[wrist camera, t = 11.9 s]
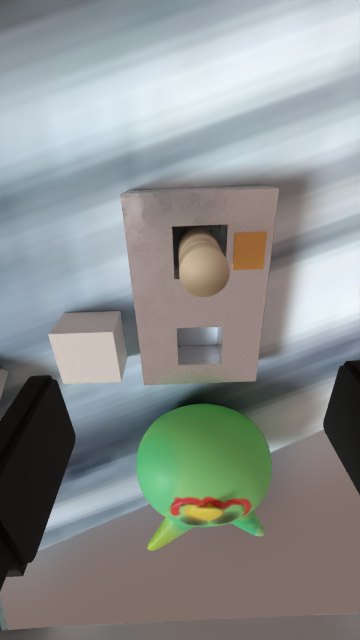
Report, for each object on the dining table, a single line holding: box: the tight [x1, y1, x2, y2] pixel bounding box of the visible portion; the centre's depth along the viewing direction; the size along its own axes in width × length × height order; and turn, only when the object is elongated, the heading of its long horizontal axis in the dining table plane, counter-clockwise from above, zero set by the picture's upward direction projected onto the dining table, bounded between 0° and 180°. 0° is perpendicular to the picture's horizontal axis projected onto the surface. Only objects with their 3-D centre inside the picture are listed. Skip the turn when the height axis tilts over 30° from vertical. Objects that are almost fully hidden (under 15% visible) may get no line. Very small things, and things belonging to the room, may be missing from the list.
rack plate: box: [121, 185, 279, 385], centre depth 32 cm, size 22×14×4 cm, turn 2°
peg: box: [178, 225, 230, 297], centre depth 27 cm, size 4×4×10 cm
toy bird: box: [137, 404, 272, 550], centre depth 39 cm, size 18×17×15 cm
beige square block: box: [48, 311, 127, 384], centre depth 35 cm, size 7×7×5 cm
